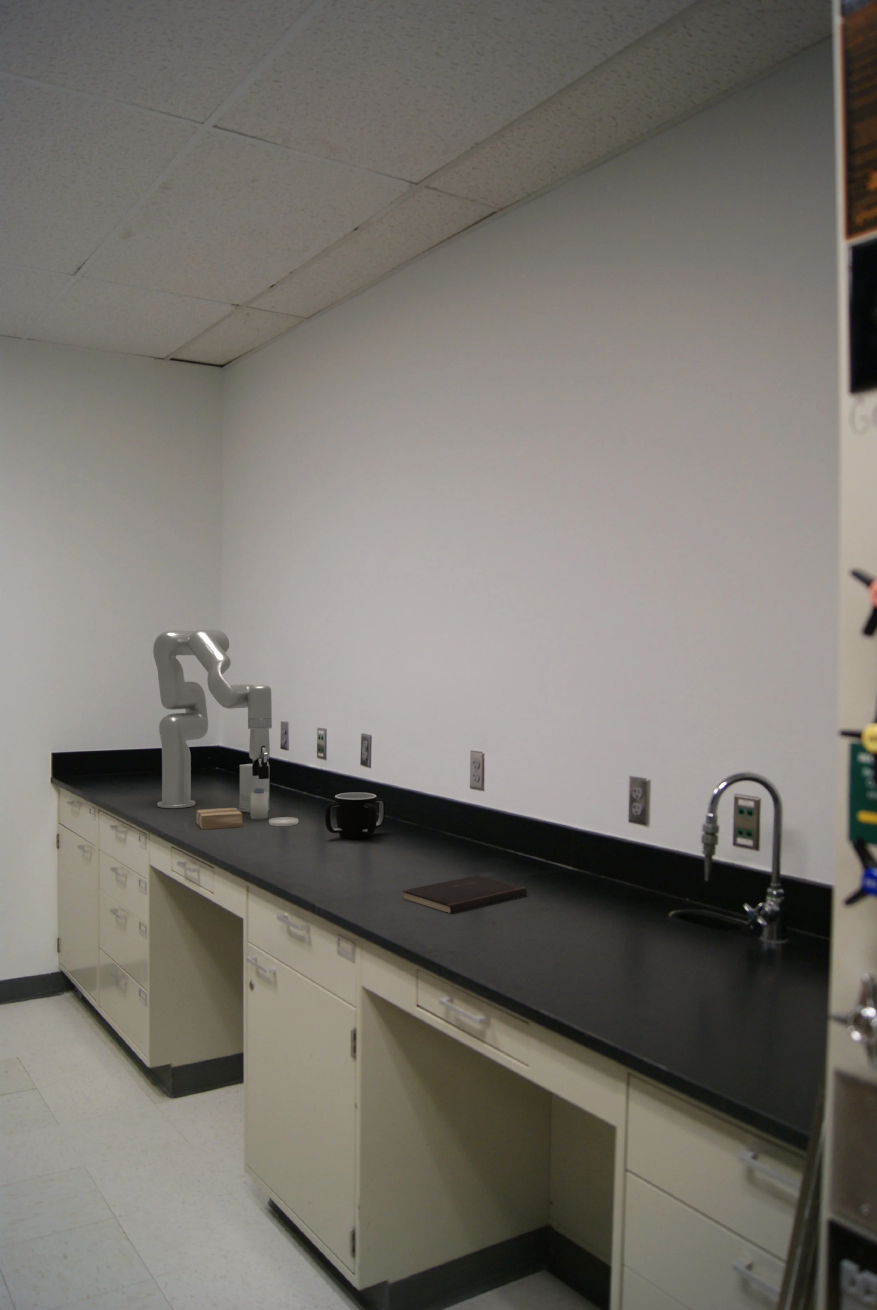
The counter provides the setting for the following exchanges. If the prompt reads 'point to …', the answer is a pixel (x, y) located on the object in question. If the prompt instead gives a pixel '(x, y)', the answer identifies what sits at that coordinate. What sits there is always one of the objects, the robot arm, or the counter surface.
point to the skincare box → (250, 787)
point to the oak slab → (219, 818)
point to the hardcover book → (464, 893)
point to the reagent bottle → (259, 804)
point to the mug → (355, 814)
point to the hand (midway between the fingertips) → (260, 777)
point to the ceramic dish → (283, 821)
